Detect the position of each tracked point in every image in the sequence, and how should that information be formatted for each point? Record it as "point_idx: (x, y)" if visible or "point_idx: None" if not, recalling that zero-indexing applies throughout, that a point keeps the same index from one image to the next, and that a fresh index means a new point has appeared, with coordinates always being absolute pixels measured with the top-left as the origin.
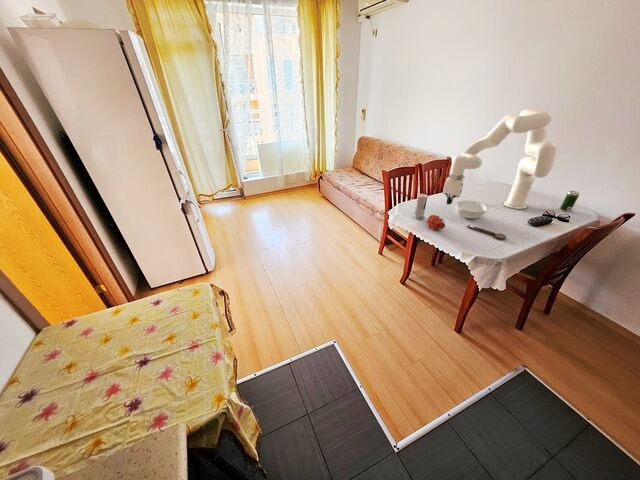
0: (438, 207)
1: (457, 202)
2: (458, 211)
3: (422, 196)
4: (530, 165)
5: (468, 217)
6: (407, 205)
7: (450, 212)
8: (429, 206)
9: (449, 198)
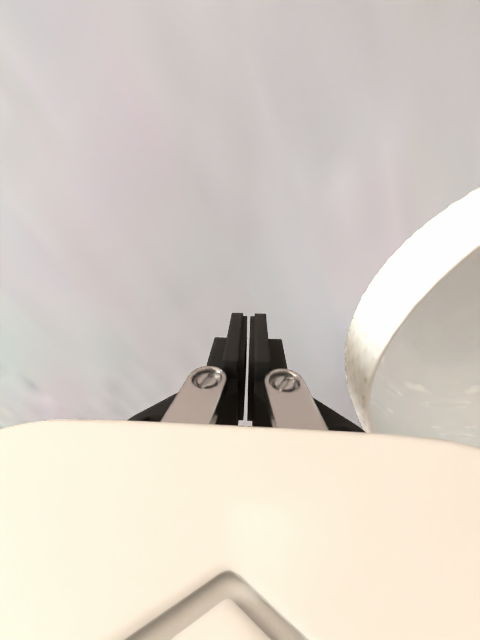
0: (164, 309)
1: (372, 381)
2: None
3: None
4: None
5: (478, 414)
6: (7, 411)
7: (294, 338)
8: (102, 338)
9: (239, 406)
